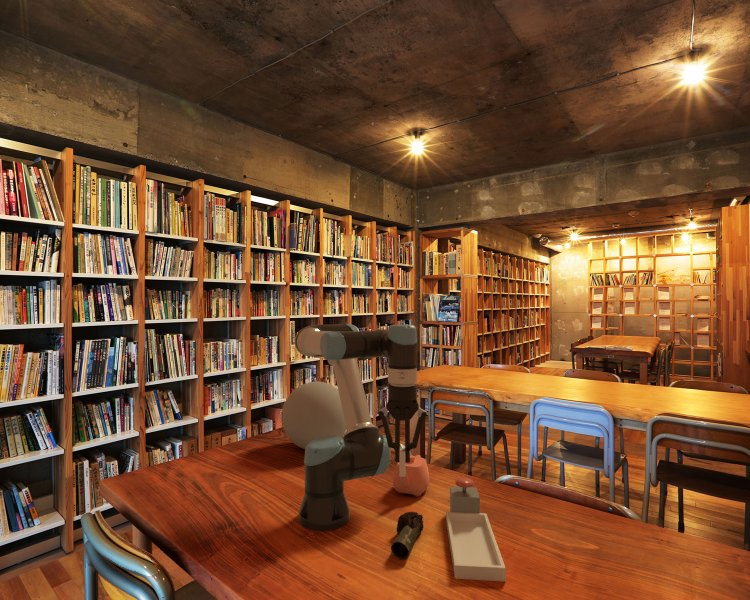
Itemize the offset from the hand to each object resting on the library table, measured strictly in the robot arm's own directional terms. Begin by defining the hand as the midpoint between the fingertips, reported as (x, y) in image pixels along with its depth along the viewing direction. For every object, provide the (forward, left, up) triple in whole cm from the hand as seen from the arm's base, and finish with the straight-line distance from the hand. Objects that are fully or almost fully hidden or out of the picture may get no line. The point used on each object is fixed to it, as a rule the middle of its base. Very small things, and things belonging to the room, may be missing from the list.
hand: (402, 474), depth 109 cm
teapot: (+2, +36, -21) cm, 41 cm away
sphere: (-41, +77, -20) cm, 89 cm away
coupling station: (+18, +3, -20) cm, 27 cm away
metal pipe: (0, -1, -23) cm, 23 cm away
